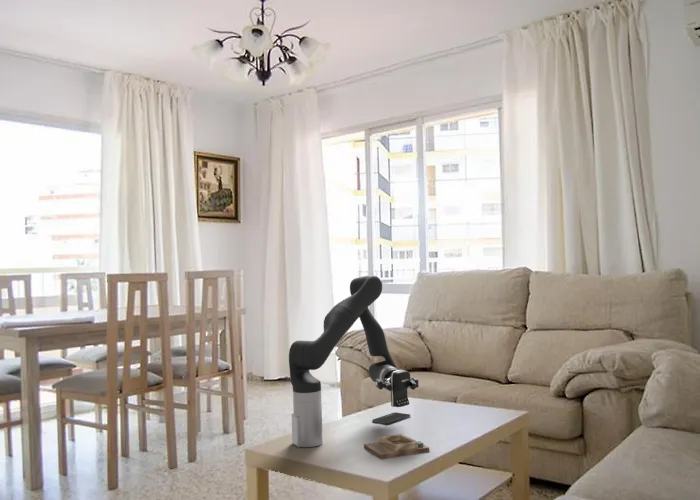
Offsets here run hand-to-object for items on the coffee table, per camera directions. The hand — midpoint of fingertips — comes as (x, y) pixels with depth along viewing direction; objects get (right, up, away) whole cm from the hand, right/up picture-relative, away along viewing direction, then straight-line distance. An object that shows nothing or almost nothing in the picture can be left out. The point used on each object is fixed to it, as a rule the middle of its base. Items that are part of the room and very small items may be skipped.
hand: (402, 387), depth 202 cm
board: (-2, -18, -8) cm, 19 cm away
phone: (-1, -19, +31) cm, 36 cm away
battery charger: (0, -7, +2) cm, 7 cm away
